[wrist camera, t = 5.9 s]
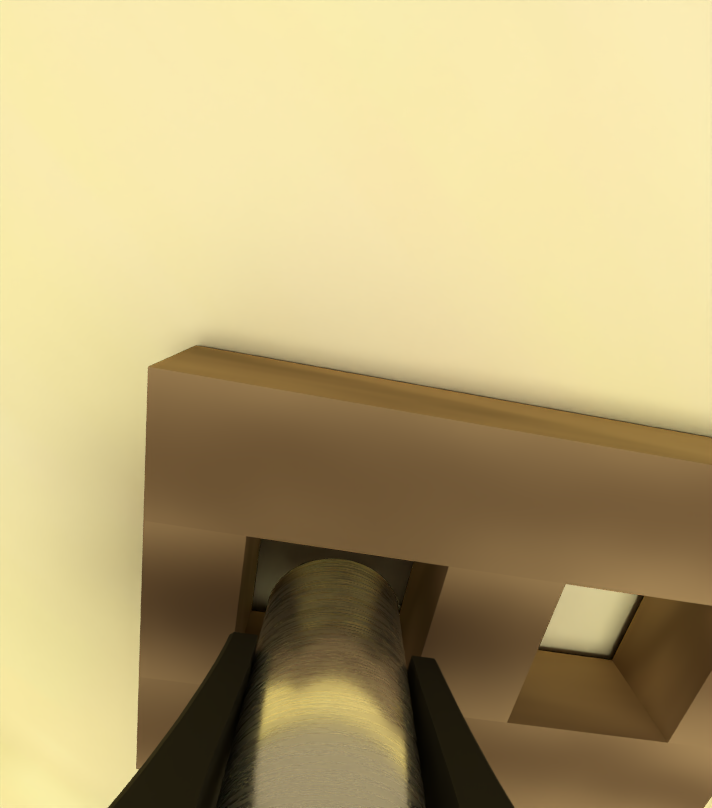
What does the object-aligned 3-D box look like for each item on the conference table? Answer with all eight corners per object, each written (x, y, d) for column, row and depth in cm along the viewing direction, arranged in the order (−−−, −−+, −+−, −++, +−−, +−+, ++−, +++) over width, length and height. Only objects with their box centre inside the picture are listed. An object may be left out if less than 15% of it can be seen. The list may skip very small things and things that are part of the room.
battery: (382, 670, 13) (416, 1105, 6) (259, 652, 13) (152, 1088, 6) (411, 570, 12) (495, 974, 5) (277, 548, 12) (170, 944, 5)
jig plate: (634, 739, 18) (688, 829, 15) (174, 682, 16) (135, 768, 13) (796, 453, 13) (916, 500, 11) (196, 345, 12) (148, 366, 9)
